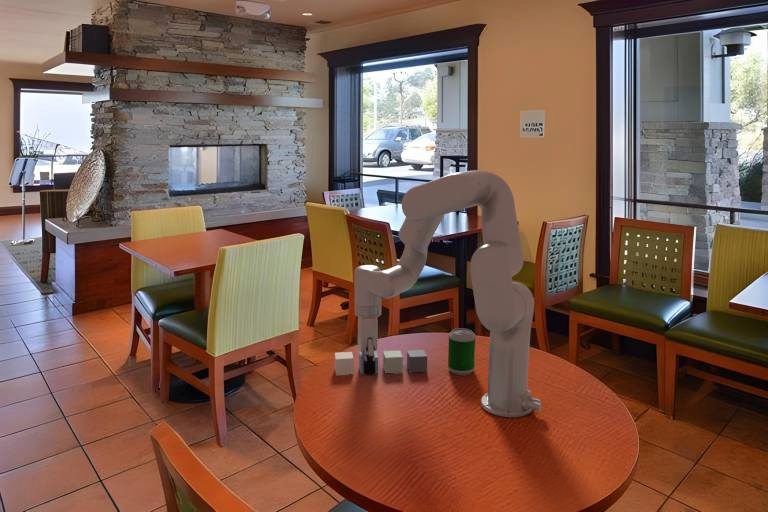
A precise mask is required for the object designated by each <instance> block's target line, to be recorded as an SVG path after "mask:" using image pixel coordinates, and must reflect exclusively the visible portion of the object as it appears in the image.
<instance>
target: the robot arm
mask: <svg viewBox="0 0 768 512" xmlns="http://www.w3.org/2000/svg"><path fill="white" fill-rule="evenodd" d="M475 206H478V207H480V210H481V212H480V227H481V228H480V229H481V233H482V239H483V245H481V246H480V247H478V248H477V249H476V250H475V251H474V253H473V254H472V256H471V259H470V265H469V271H470V279H471V286H472V292H473V298H474V305H475V311H476V314H477V317H478V319H479V322H480V324H482V326H483V327H484V328H485V329H486V330H488V331H490V332H489V345H488V346H489V349H488V374H487V375H488V376H487V377H488V378H487V393H485V394H484V395H482V397H481V398H480V405H481V407H482V409H484V410H485V411H486V412H488V413H490V414H492V415H495V416H498V417H503V418H520V417H525V416H527V415H529V414H530V413H531V412H532V411H536V412H541V411H542V409H543V404H542V400H541V399H539V398H535V397H532V395H531V394H532V393H531V391H532V390H530V389H528V378H529V377H528V375H529V359H530V343H531V331H532V324H533V318H534V312H535V299H534V296H533V293H532V291H531V290H530V289H529V288H528V286H527V285H525V284H523V283H521V282H520V281H519V282H518V281H513V277H514V276H516V275H517V274H518V273H520V271H521V270H522V268H523V265H524V254H523V247H522V243H521V242H522V240H521V236H520V229H519V225H518V219H517V218H518V217H517V212H516V211H517V210H516V205H515V197H514V195H513V192H512V190H511V188H510V186H509V184H508V183H507V182H506V180H505V179H503V177H501V176H499V174H496V173H495V172H494V173H493V172H491V171H487V170H480V169H478V170H477V169H474V170H467V171H459V172H454V173H450V174H447V175H445V176H442V177H441V176H440V177H439V178H436V179H433V180H431V181H428V182H426V183H421V184H418V185H416V186H415V185H414V186H413V187H411V188H409V189H408V190H407V191H406V192H405V193H404V195H403V196H402V200H401V209H402V210H401V211H402V213H403V215H404V216H405V217H404V218H405V219H404V220H403V222H402V224H401V227H400V228H399V231H398V239H399V240H400V241H401V242H402V244H404V249H403V252H402V254H401V256H400V258H399V260H398V262H397V263H396V265H395V266H392V267H390V268H386V269H383V270H381V268H380V267H379V266H377V265H374V264H364V265H363V264H362V265H359V266H357V267H355V269H354V279H353V280H354V315H355V316H356V317H357V345H358V349H359V352H364V353H365V360H364V374H366V375H376V374H375V354H374V351H376V352H377V351H378V335H379V334H378V331H379V330H378V323H379V321H378V318H379V317H380V316H381V315H382V299H391V298H393V297H396V296H399V295H400V294H402V293H405V292H407V291H409V290H410V289H412V287H413V286H414V285H415V284H416V283H417V281H418V279H419V278H420V275H421V274H422V272H423V270H424V268H425V265H426V263H427V258H428V253H429V252H428V249H429V248H428V247H429V245H430V243H431V241H432V239H433V237H434V235H435V233H436V231H437V229H438V227H439V225H440V224H441V222H442V220H443V219H444V217H445V215H447V214H450V213H453V212H457V211H461V210H464V209H465V210H466V209H469V208H473V207H475ZM367 352H368V354H367Z"/></svg>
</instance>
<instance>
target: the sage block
mask: <svg viewBox="0 0 768 512" xmlns="http://www.w3.org/2000/svg"><path fill="white" fill-rule="evenodd" d="M403 360H404V356H403V354H402V351H401V350H383V351H382V361H383V362H382V363H383V364H382V367H384V368H383V371H384V374H385V375H387V374H386V373H395V374H403V373H404V371H403V370H404V369H403V367H404V363H403V362H404V361H403ZM402 372H403V373H402Z"/></svg>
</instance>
